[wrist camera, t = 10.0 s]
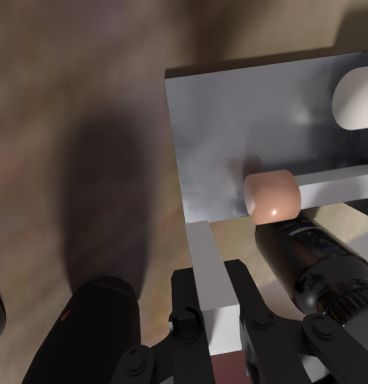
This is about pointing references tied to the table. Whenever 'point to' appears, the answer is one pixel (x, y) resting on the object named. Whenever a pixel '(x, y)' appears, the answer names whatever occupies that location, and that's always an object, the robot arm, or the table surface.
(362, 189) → the knob terracotta
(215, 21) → the table surface
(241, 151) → the mount
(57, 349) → the portable speaker
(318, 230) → the supplement bottle
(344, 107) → the knob cream
